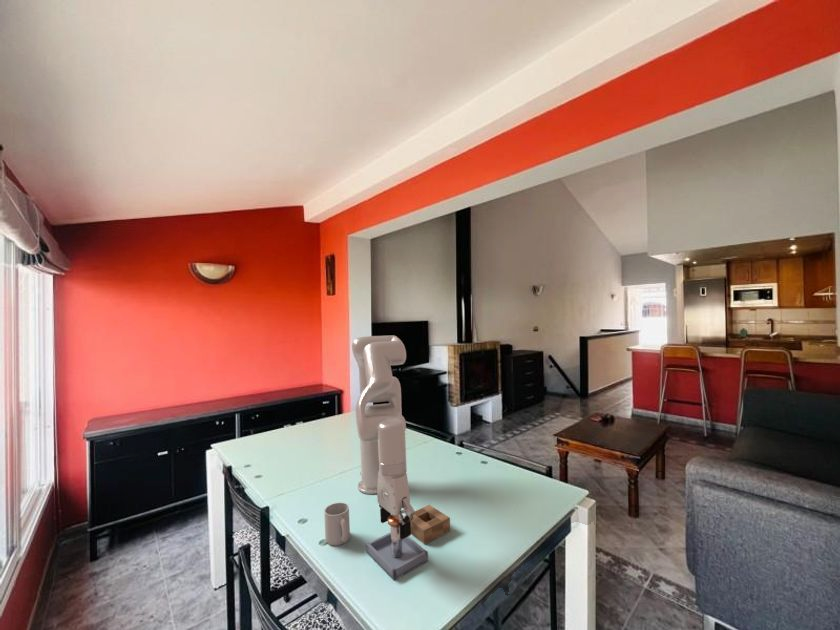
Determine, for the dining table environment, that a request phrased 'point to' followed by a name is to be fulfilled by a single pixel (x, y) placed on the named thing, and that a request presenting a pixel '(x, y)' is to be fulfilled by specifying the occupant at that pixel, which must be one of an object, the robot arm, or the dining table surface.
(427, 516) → the hitch block
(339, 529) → the cup
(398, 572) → the tray
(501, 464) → the dining table surface
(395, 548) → the pin
